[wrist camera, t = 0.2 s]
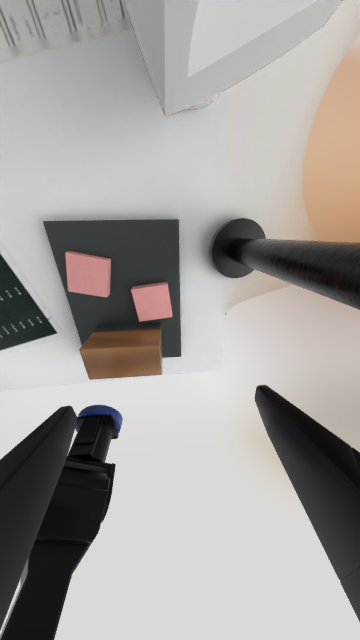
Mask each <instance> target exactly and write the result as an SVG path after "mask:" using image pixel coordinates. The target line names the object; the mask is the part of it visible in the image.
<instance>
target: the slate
mask: <svg viewBox="0 0 360 640" xmlns="http://www.w3.org/2000/svg"><path fill="white" fill-rule="evenodd" d="M43 223H44V226H45V229H46V232H47V236H48V239H49V242H50V245H51V248H52V251H53V255H54V258H55V261H56V264H57V267H58V270H59V273H60V277H61V280H62V283H63V286H64V289H65V292H66V296H67V299H68V302H69V305H70V308H71V311H72V315H73V318H74V321H75V324H76V327H77V330H78V334H79V337H80V340H81V343H82V346H83V345H84V343H85V342H86V341H87V339H88V338H89V337H90V335H91V334H92V333H93V331H94V330H95V328H96V327H97V326H117V325H138V324H159V323H161V331H162V345H163V358H164V357H181V328H180V272H179V220H178V219H174V220H103V221H43ZM69 251H73V252H78V253H84V254H89V255H94V256H99V257H104V258H109V259H111V277H110V295H109V296H108V297H100V296H94V295H88V294H82V293H76V292H69V291H68V284H67V270H66V256H65V252H69ZM161 282H167V283H168V289H169V296H170V302H171V308H172V316H173V317H168V318H162V319H155V320H148V321H141V322H139V319H138V315H137V311H136V307H135V303H134V299H133V295H132V292H131V289H132V287H133V286H140V285H147V284H154V283H161Z"/></svg>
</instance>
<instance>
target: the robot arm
mask: <svg viewBox="0 0 360 640" xmlns="http://www.w3.org/2000/svg"><path fill="white" fill-rule="evenodd" d="M255 402H256V404H257V407H258V410H259V413H260V415H261V418H262V420H263V423H264V426H265V428H266V431H267V433H268V436H269V438H270V440H271V442H272V444H273V446H274V448H275V450H276V452H277V454H278V456H279V458H280V460H281V462H282V464H283V466H284V468H285V470H286V473H287V474H288V476H289V479H290V480H291V483H292V485H293V487H294V489H295V491H296V493H297V495H298V497H299V499H300V501H301V503H302V505H303V507H304V509H305V511H306V513H307V515H308V517H309V519H310V521H311V523H312V525H313V527H314V530H315V531H316V534H317V536H318V537H319V540H320V542H321V544H322V546H323V547H324V550H325V552H326V554H327V556H328V558H329V560H330V562H331V564H332V566H333V568H334V570H335V572H336V574H337V576H338V578H339V579H340V582H341V585H342V587H343V589H344V591H345V593H346V595H347V597H348V599H349V601H350V603H351V605H352V607H353V609H354V611H355V613H356V615H357V617H358V619H359V621H360V452H358V451H357V450H355V449H354V448H351V446H350V445H348V444H347V443H346V442H344V441H343V440H341V439H340V438H339V437H337V436H336V435H334V434H333V433H332V432H330V431H329V430H328V429H326V428H325V427H323V426H322V425H321V424H319V423H318V422H316V421H315V420H314V419H312V418H311V417H310V416H308V415H307V414H305V413H304V412H303V411H301V410H300V409H299V408H297V407H296V406H294V405H293V404H291V403H290V402H289V401H287V400H286V399H285V398H283V397H282V396H280V395H279V394H278V393H276V392H275V391H273V390H272V389H271V388H269V387H268V386H266V385H260V386H257V388H256V393H255ZM75 426H77V428H78V433H77V435H76V437H75V439H74V442H73V445H72V447H71V449H70V451H69V448H70V444H71V441H72V437H73V433H74V430H75ZM116 438H118V431H117V428H116V424H115V421H114V417H113V415H110V414H109V415H96V416H83V417H77V416H76V414H75V412H74V410H73V408H72V407H71V406H64V407H61V408H59V409H58V410H57V411H56V412H55V413H53V415H51V416H50V417H49V418H48V419H47V420H45V421H44V422H43V423H42V424H41V425H40V426H39V427H37V428H36V429H35V430H34V431H33V432H32V433H30V434H29V435H28V436H27V437H26V438H25V439H24V440H23V441H21V442H20V443H19V444H18V445H17V446H15V447H14V448H13V449H12V450H11V451H10V452H9V453H8V454H6V455H5V456H4V457H3V458H2V459H1V460H0V630H1V627H2V625H3V622H4V619H5V617H6V614H7V612H8V609H9V606H10V604H11V601H12V598H13V596H14V593H15V591H16V588H17V586H18V583H19V580H20V578H21V586H20V589H19V592H18V594H17V596H16V599H15V601H14V604H13V606H12V609H11V611H10V614H9V616H8V618H7V621H6V623H5V626H4V628H3V630H2V633H1V635H0V640H54V638H55V634H56V631H57V627H58V623H59V619H60V616H61V612H62V609H63V605H64V601H65V598H66V594H67V590H68V586H69V582H70V580H71V576H72V574H73V572H74V570H75V569H76V567H77V565H78V564H79V562H80V561H81V559H82V558H83V556H84V555H85V553H86V551H87V550H88V548H89V546H90V545H91V543H92V542H93V540H94V539H95V537H96V535H97V534H98V531H99V529H100V524H101V523H102V522H103V520H104V518H105V515H106V513H107V510H108V506H109V503H110V499H111V494H112V487H113V479H114V472H115V464H113V463H112V464H109V463H105V460H106V456H107V453H108V449H109V445H110V441H111V439H116ZM68 451H69V453H68ZM67 454H68V456H67Z"/></svg>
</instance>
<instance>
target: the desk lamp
mask: <svg viewBox="0 0 360 640" xmlns="http://www.w3.org/2000/svg"><path fill="white" fill-rule="evenodd" d="M209 254H210V259H211V262H212V264H213V266H214V268H215V269H216V270H217V271H218V272H220V273H221V274H223V275H224V276H227V277H231V278H239V277H243V276H245V275H247V274H249V273H251V272H252V271H253V270H255V269H256V270H258V271H261V272H263V273H266V274H268V275H271V276H274V277H276V278H279V279H281V280H284V281H287V282H289V283H292V284H294V285H297V286H300V287H302V288H305V289H307V290H310V291H313V292H315V293H318V294H320V295H323V296H326V297H328V298H331V299H333V300H336V301H339V302H341V303H344V304H346V305H349V306H352V307H354V308H357V309H359V310H360V243H347V242H324V241H300V240H276V239H266V238H265V234H264V232H263V230H262V228H261V227H260V226H259V225H258V224H257V223H256V222H254V221H253V220H250V219H244V218H242V219H235V220H231V221H229V222H227V223H225V224H224V225H222V226H221V227H220V228H219V229H218V230H217V231H216V233H215V234H214V236H213V238H212V241H211V244H210V250H209Z"/></svg>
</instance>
